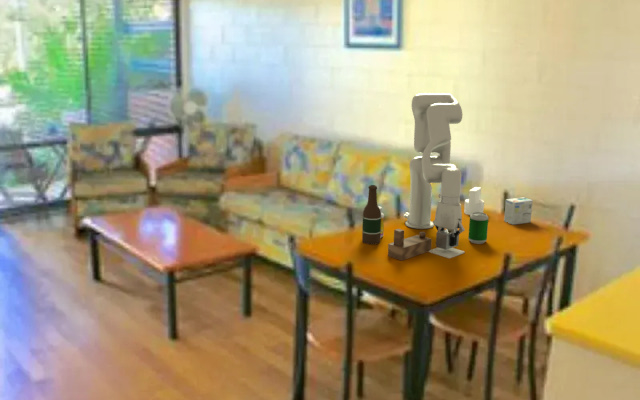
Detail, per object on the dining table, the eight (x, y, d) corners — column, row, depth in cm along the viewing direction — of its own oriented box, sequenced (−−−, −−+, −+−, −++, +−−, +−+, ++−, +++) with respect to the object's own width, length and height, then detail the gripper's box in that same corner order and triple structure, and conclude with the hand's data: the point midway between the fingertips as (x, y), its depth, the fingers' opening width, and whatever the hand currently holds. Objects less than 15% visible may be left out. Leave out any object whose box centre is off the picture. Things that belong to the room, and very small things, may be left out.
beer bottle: (382, 240, 282) (384, 184, 276) (377, 245, 275) (379, 188, 269) (364, 238, 284) (366, 182, 278) (359, 243, 277) (361, 187, 271)
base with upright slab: (479, 216, 318) (481, 192, 315) (461, 213, 323) (463, 189, 320) (485, 212, 326) (487, 188, 323) (467, 209, 330) (469, 185, 327)
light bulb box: (521, 218, 316) (523, 196, 313) (531, 222, 310) (533, 200, 307) (503, 221, 311) (505, 198, 309) (512, 225, 306) (514, 202, 303)
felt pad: (428, 252, 268) (428, 250, 268) (444, 246, 274) (444, 245, 274) (449, 258, 261) (449, 256, 261) (464, 252, 267) (464, 251, 267)
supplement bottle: (385, 237, 285) (387, 208, 282) (371, 239, 283) (372, 209, 280) (379, 233, 291) (380, 204, 288) (365, 234, 289) (366, 205, 286)
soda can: (486, 245, 277) (489, 217, 274) (468, 243, 279) (470, 216, 276) (486, 239, 284) (488, 212, 281) (468, 238, 286) (470, 211, 283)
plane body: (401, 260, 258) (402, 233, 255) (387, 255, 263) (388, 229, 260) (430, 250, 270) (432, 224, 267) (417, 246, 275) (418, 220, 272)
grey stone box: (445, 249, 262) (446, 233, 261) (435, 246, 266) (436, 230, 264) (458, 245, 268) (459, 229, 266) (448, 242, 271) (449, 226, 270)
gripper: (426, 197, 266) (424, 240, 270) (462, 205, 254) (459, 251, 258) (438, 194, 271) (435, 237, 275) (473, 202, 259) (470, 247, 263)
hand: (447, 243), depth 267 cm, fingers closed on grey stone box, 5 cm apart
